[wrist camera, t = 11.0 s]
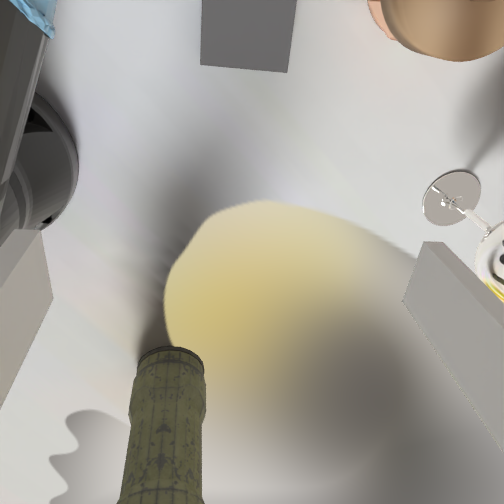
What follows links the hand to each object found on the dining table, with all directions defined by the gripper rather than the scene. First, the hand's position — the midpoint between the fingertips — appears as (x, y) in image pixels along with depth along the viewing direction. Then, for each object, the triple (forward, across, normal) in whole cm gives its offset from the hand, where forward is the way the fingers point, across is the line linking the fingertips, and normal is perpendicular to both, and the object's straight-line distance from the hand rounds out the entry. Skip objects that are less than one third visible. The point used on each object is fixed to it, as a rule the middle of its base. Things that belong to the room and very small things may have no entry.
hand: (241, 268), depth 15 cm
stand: (+27, +2, +7) cm, 28 cm away
